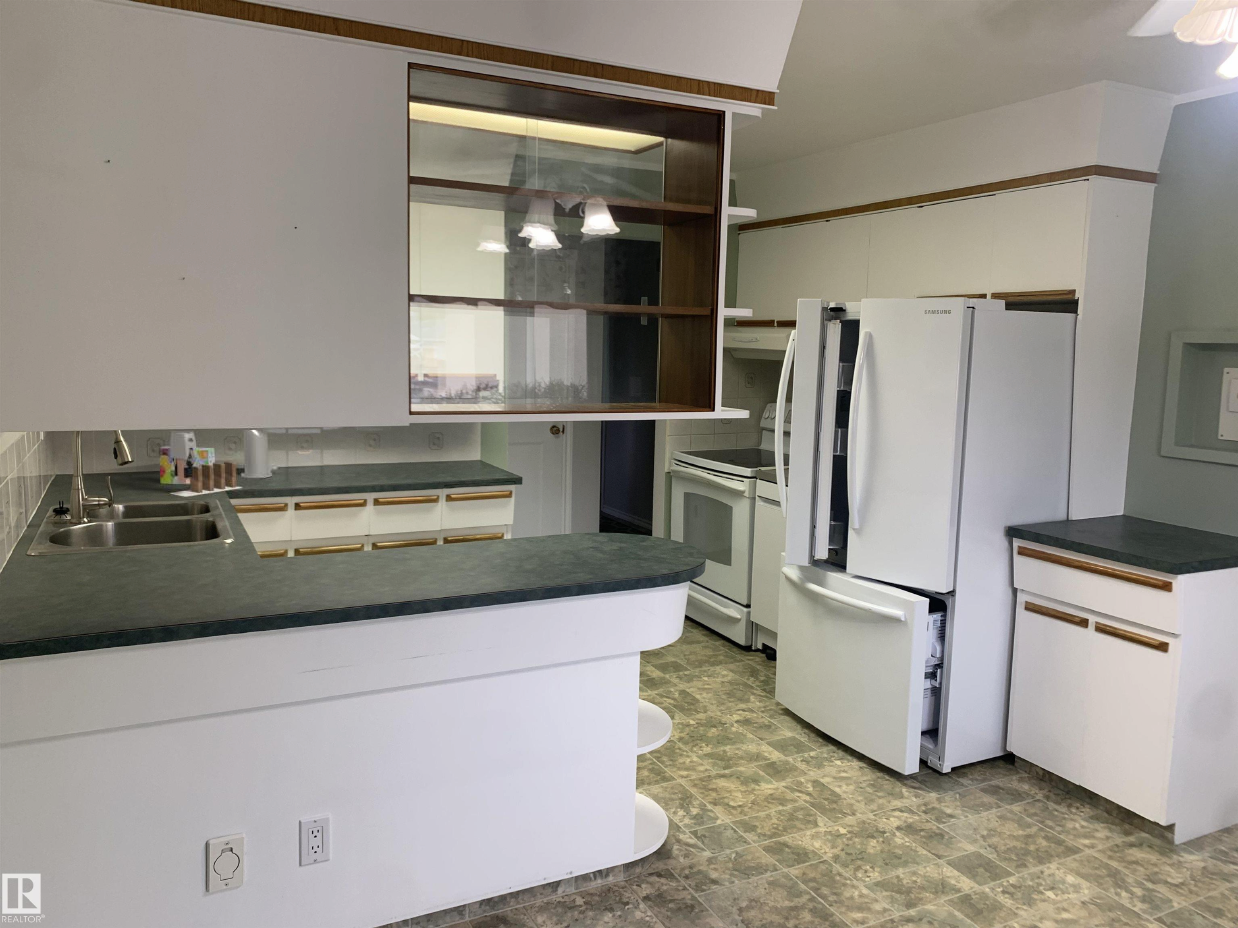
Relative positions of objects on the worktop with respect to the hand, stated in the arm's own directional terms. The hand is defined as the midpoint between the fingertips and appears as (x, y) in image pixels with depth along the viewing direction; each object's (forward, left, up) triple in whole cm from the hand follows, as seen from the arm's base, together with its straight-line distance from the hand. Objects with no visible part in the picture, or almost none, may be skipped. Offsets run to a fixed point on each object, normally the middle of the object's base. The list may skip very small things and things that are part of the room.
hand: (183, 476), depth 337 cm
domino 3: (-10, 0, -7) cm, 12 cm away
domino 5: (-20, 0, -7) cm, 21 cm away
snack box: (-15, -20, -8) cm, 26 cm away
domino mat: (-10, 0, -7) cm, 12 cm away
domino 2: (-5, 0, -7) cm, 9 cm away
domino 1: (0, 0, -2) cm, 2 cm away
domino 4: (-15, 0, -7) cm, 17 cm away
